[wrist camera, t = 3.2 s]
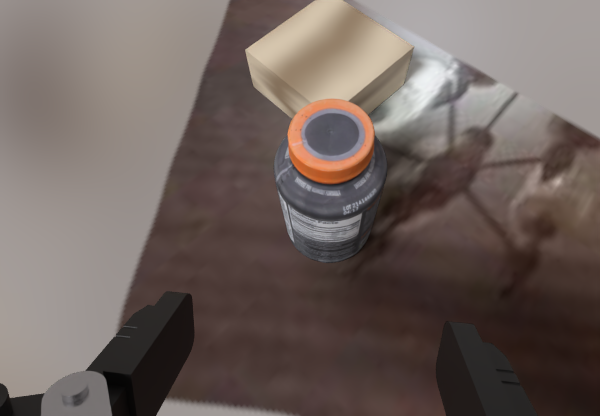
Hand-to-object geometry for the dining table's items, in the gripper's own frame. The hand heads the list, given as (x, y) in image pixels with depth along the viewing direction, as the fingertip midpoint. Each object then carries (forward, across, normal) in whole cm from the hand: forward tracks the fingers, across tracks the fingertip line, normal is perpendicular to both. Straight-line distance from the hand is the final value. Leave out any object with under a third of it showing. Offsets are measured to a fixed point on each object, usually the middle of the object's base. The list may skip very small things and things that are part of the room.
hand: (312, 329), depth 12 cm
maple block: (+24, +1, -6) cm, 25 cm away
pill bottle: (+16, 0, +3) cm, 16 cm away
